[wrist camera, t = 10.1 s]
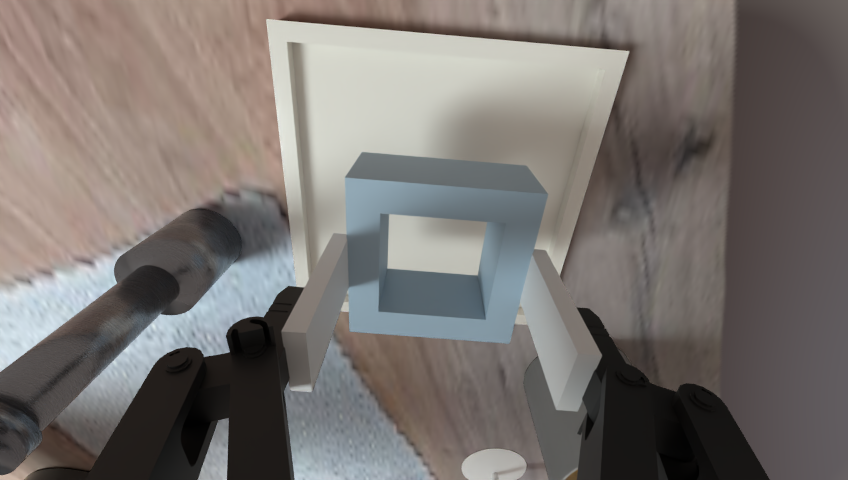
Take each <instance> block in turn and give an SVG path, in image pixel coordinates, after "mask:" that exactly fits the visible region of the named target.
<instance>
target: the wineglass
mask: <svg viewBox="0 0 848 480" xmlns="http://www.w3.org/2000/svg"><path fill="white" fill-rule="evenodd" d="M526 466H527V464H526V462H525V460H524V458H523V457H521V456H520V455H519V454H518V453H515V452H513V451H511V450H505V449H486V450H481V451H478V452H476V453H474V454H471V455H470V456H469V457H467V458H466V459H465V460H464V462H463V464H462V473H463V475H464V476H465V477H466V478H467V479H468V480H517V479H519V478H520V477H521V476H522V475H523V474H524V472H525V471H526Z"/></svg>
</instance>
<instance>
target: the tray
mask: <svg viewBox="0 0 848 480" xmlns="http://www.w3.org/2000/svg"><path fill="white" fill-rule="evenodd" d="M266 22H267V30H268V39H269V48H270V57H271V66H272V74H273V83H274V92H275V101H276V110H277V118H278V127H279V136H280V145H281V154H282V162H283V171H284V180H285V189H286V198H287V206H288V215H289V224H290V233H291V242H292V250H293V259H294V268H295V277H296V286H297V287H305V286H306V284H307V282H308V280H309V278H310V276H311V274H312V273H313V271H314V269H315V267H316V265H317V263H318V261H319V259H320V257H321V256H322V254H323V252H324V250H325V248H326V246H327V244H328V242H329V240H330V239H331V237H332V235H333V233H339V234H347V232H346V200H345V176H346V175H347V173H348V172H349V171H350V169H351V168H352V166H353V165H354V163H355V162H356V160H357V159H358V157H359V156H360V154H361V153H362V152H369V153H381V154H393V155H405V156H417V157H429V158H441V159H453V160H465V161H477V162H489V163H501V164H514V165H526V166H527V167H528V168H529V169H530V171H531V172H532V173H533V175H534V176H535V177H536V179H537V180H538V181H539V183H540V184H541V185H542V186H543V188H544V189H545V190H546V192H547V193H548V197H547V201H546V205H545V209H544V213H543V216H542V220H541V224H540V228H539V232H538V236H537V240H536V243H535V247H534V249H540V250H546V252H547V254H548V256H549V257H550V259H551V261H552V263H553V265H554V267H555V269H556V270H557V272H558V274H559V276H560V274H561V270H562V267H563V264H564V261H565V257H566V254H567V251H568V248H569V245H570V241H571V238H572V235H573V232H574V228H575V225H576V222H577V219H578V216H579V212H580V209H581V206H582V203H583V199H584V196H585V193H586V190H587V187H588V183H589V180H590V177H591V174H592V170H593V167H594V164H595V161H596V158H597V154H598V151H599V148H600V145H601V141H602V138H603V135H604V132H605V129H606V125H607V122H608V119H609V116H610V112H611V109H612V106H613V103H614V100H615V96H616V93H617V90H618V87H619V83H620V80H621V77H622V74H623V71H624V67H625V64H626V61H627V58H628V54H629V51H621V50H610V49H599V48H587V47H576V46H565V45H553V44H542V43H531V42H519V41H508V40H497V39H485V38H474V37H463V36H451V35H440V34H429V33H417V32H406V31H395V30H383V29H372V28H361V27H349V26H338V25H327V24H315V23H304V22H293V21H281V20H270V19H266ZM486 226H487V222H482V221H469V220H457V219H444V218H432V217H420V216H407V215H395V214H389V235H388V265H387V268H388V269H401V270H414V271H426V272H439V273H452V274H465V275H477V276H478V271H479V265H480V259H481V254H482V248H483V243H484V237H485V232H486ZM341 312H349V297H348V291H347V294H346V297H345V300H344V303H343V306H342V308H341ZM515 324H520V325H528V324H527V321H526V318H525V315H524V311H523V308H522V305H521V302H520V305H519V309H518V313H517V317H516V320H515Z"/></svg>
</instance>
